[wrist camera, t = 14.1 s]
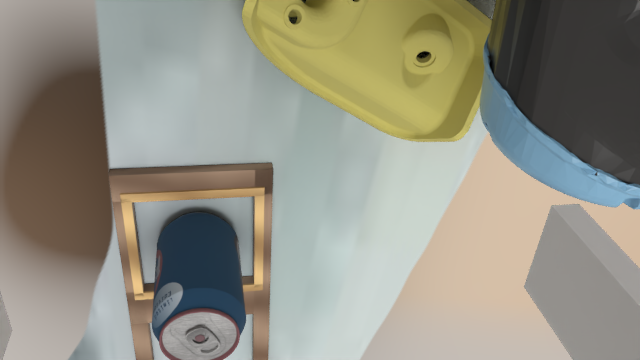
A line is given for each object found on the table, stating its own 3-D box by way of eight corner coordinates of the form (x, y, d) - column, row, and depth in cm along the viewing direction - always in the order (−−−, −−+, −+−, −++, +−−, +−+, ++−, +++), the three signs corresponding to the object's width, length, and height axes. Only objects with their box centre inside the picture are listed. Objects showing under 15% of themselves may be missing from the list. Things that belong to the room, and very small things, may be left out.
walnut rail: (109, 169, 47) (108, 177, 46) (271, 162, 50) (273, 170, 49) (144, 400, 63) (143, 409, 62) (266, 387, 65) (267, 396, 64)
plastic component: (511, 35, 45) (457, 155, 45) (447, 37, 51) (400, 141, 51) (304, -130, 35) (233, 24, 35) (256, -102, 41) (197, 27, 41)
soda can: (141, 228, 51) (130, 333, 41) (211, 192, 50) (216, 290, 40) (185, 278, 55) (184, 384, 45) (251, 245, 54) (264, 346, 44)
